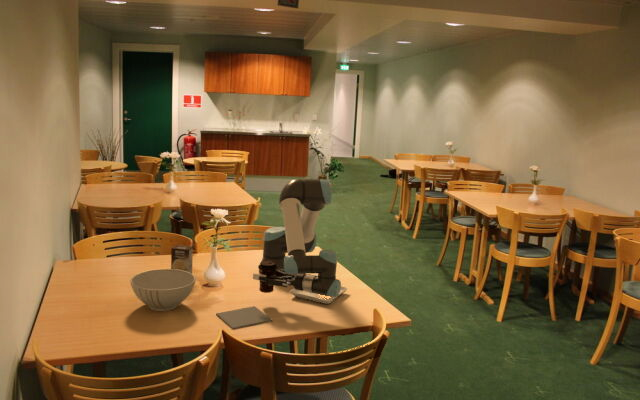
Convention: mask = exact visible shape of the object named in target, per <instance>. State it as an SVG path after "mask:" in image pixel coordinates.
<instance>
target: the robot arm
mask: <svg viewBox="0 0 640 400" xmlns="http://www.w3.org/2000/svg"><path fill="white" fill-rule="evenodd" d="M278 199H279V200H278V204H279V209H280V210H282V218H283V224H284V226H274V227H269V228H267V229H265V230H264V231H263V246H262V258H261V261H260V262H262V261H266V260H269V261H275V262H276V265H277V269H276V277H268V276H267V275H263V274H259V273H256V272H253V274H252V280H256V281H265V284H268V285H274V287H275V286H277V287H283V288H284V289H285V288H288V286H293V289H294V288H295V289H296V290H300V291H303V290H304V291H306V292H310V293H316V294H320V295H325V296H330V297H337V296H338V295H339V293H340V289H341V286H342V283H341V280H340V279H337V276H336V275H337V266H338V265H337V264H338V253H337V252H336V251H334V250H332V249H321V250H320V251H319V253H318V255H316V254H315V255H314V254H313V255H310V254H309V255H307V254H308V253H312V252H314V251H315V249H316V246H317V244H316V243H317V239H318V238H317V234H316V232H315V226H316V223H317V221H318V217H319V214H320V211H322V210H324V208H325V207H326V205H327V206H328V205H330V204H331V203H332V186H331V182H330V181H329V180H328V179H322V178H316V179H315V178H296V179H292V180H291V181H288V182H287V183H286V184H285V185H284V187H283V188H282V190H281V191H280V195H279V198H278ZM301 205H302V207H301ZM300 207H301V209H300ZM300 210H301V211H300ZM286 254H287V255H286ZM316 274H317V275H316ZM339 296H340V295H339ZM339 296H338V297H339ZM338 297H337V298H338Z"/></svg>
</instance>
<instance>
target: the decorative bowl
mask: <svg viewBox="0 0 640 400" xmlns="http://www.w3.org/2000/svg"><path fill="white" fill-rule="evenodd" d="M196 281H197V278H196V276H195V275H194V274H193V273H192V274H191V273H189V272H186V271H183V270H177V269H171V268H157V269H149V270H145V271H142V272H139V273H136V274H135V275H133V276H132V277H130V280H129V282H130V286H131V289H132V291H133V293H134V295H135V296H136V297H137V298H138V300H139V301H140V302H142V304H145V305H146V306H148V308H149V309H150V310H152V311H157V312H168V311H171V310H174V309H176V308H178V306H179V305H180V304H182V302H184V301H185V300H186V299H188V297H189V296H190V295H191V292H192V291H193V289H194V287H195V284H196Z"/></svg>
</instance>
